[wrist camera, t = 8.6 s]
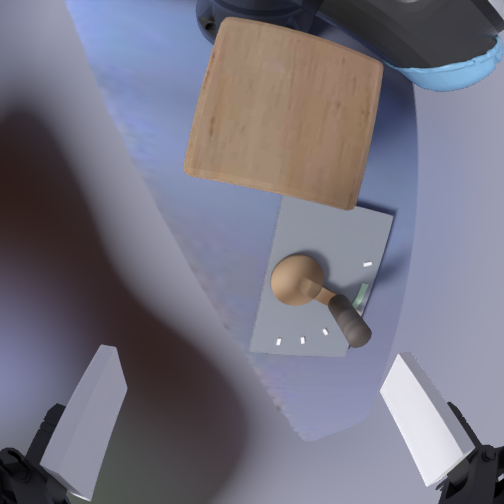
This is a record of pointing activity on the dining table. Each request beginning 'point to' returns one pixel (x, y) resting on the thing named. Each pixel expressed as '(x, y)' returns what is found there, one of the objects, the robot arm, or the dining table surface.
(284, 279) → the dial
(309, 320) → the board
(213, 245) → the dining table surface
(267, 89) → the wooden block
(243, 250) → the dining table surface
